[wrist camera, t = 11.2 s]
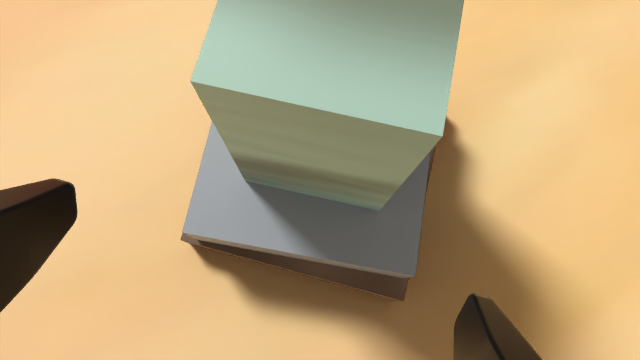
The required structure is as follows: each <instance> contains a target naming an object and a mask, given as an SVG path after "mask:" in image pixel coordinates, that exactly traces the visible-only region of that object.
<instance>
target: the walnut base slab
mask: <svg viewBox="0 0 640 360" xmlns="http://www.w3.org/2000/svg"><path fill="white" fill-rule="evenodd" d="M435 147H436V145H435V146H434V147H433V148H432V150H431V151H430V159H429V168H428V176H427V184H426V191H427V186H428V181H429V176H430V171H431V166H432V161H433V157H434V152H435ZM425 195H426V193H425ZM181 240H182V241H185V242H187V243H189V244H192V245H196V246H200V247H203V248H207V249H211V250H214V251H218V252H221V253H225V254H229V255H232V256H236V257H240V258H243V259H247V260H251V261H254V262H258V263H261V264H265V265H269V266H272V267H276V268H280V269H283V270H287V271H291V272H294V273H298V274H301V275H305V276H309V277H312V278H316V279H320V280H323V281H327V282H331V283H334V284H338V285H341V286H345V287H349V288H352V289H356V290H360V291H363V292H367V293H371V294H374V295H378V296H381V297H385V298H389V299H392V300H396V301H404V297H405V292H406V287H407V283H408V278H409V277H408V278H398V277H392V276H387V275H382V274H376V273H371V272H366V271H360V270H355V269H350V268H344V267H339V266H334V265H328V264H323V263H318V262H312V261H307V260H302V259H296V258H291V257H286V256H280V255H275V254H270V253H264V252H259V251H254V250H248V249H243V248H238V247H232V246H227V245H222V244H216V243H211V242H206V241H200V240H196V239H194V238H192V237H190V236H188V235H186V234H184V233H183V234H182V237H181Z"/></svg>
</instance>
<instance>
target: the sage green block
mask: <svg viewBox="0 0 640 360" xmlns="http://www.w3.org/2000/svg"><path fill="white" fill-rule="evenodd" d="M463 4H464V0H218V1H217V4H216V7H215V10H214V13H213V16H212V19H211V22H210V25H209V28H208V31H207V34H206V37H205V40H204V43H203V46H202V49H201V51H200V54H199V57H198V60H197V63H196V66H195V69H194V72H193V75H192V78H191V83H192V85H193V87H194V89H195V90H196V92H197V94H198V96H199V98H200V100H201V101H202V103H203V105H204V107H205V109H206V110H207V112H208V114H209V116H210V118H211V120H212V121H213V123H214V125H215V127H216V129H217V131H218V132H219V134H220V136H221V138H222V140H223V141H224V143H225V145H226V147H227V149H228V151H229V152H230V154H231V156H232V158H233V160H234V162H235V163H236V165H237V167H238V169H239V171H240V172H241V174H242V176H243V178H244V180H245V181H248V182H252V183H257V184H261V185H266V186H270V187H274V188H279V189H283V190H288V191H292V192H297V193H301V194H306V195H310V196H314V197H319V198H323V199H328V200H332V201H337V202H341V203H345V204H350V205H354V206H359V207H363V208H368V209H372V210H377V211H380V209H381V208H382V207H383V206H384V205H385V204H386V202H387V201H388V200H389V199H390V198H391V197H392V195H393V194H394V193H395V192H396V191H397V189H398V188H399V187H400V186H401V185H402V184H403V182H404V181H405V180H406V179H407V178H408V177H409V175H410V174H411V173H412V172H413V171H414V169H415V168H416V167H417V166H418V165H419V164H420V162H421V161H422V160H423V159H424V158H425V157H426V155H427V154H428V153H429V152H430V151H431V150H432V148H433V147H434V146H435V145H436V144H437V142H438V141H439V140H440V139H441V138H442V137H443V131H444V125H445V119H446V112H447V106H448V99H449V93H450V87H451V80H452V74H453V68H454V61H455V55H456V49H457V42H458V36H459V29H460V23H461V17H462V10H463Z"/></svg>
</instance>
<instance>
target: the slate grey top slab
mask: <svg viewBox="0 0 640 360" xmlns="http://www.w3.org/2000/svg"><path fill="white" fill-rule="evenodd" d="M429 159H430V152H429V153H428V154H427V155H426V157H425V158H424V159H423V160H422V161H421V162H420V164H419V165H418V166H417V167H416V168H415V169H414V171H413V172H412V173H411V174H410V175H409V177H408V178H407V179H406V180H405V181H404V182H403V184H402V185H401V186H400V187H399V188H398V189H397V191H396V192H395V193H394V194H393V195H392V197H391V198H390V199H389V200H388V201H387V202H386V204H385V205H384V206H383V207H382V208H381V209H380V211H377V210H372V209H368V208H363V207H359V206H354V205H350V204H345V203H341V202H337V201H332V200H328V199H323V198H319V197H314V196H310V195H306V194H301V193H297V192H292V191H288V190H283V189H279V188H274V187H270V186H266V185H261V184H257V183H252V182H248V181H245V180H244V178H243V176H242V174H241V172H240V171H239V169H238V167H237V165H236V163H235V162H234V160H233V158H232V156H231V154H230V152H229V151H228V149H227V147H226V145H225V143H224V141H223V140H222V138H221V136H220V134H219V132H218V131H217V129H216V127H215V125H214V123H213V121H212V123H211V127H210V131H209V135H208V138H207V142H206V146H205V149H204V153H203V157H202V161H201V164H200V168H199V172H198V175H197V179H196V183H195V187H194V190H193V194H192V198H191V201H190V205H189V209H188V213H187V216H186V220H185V224H184V227H183V231H182V233H184V234H186V235H188V236H190V237H192V238H194V239H196V240H200V241H206V242H211V243H216V244H222V245H227V246H232V247H238V248H243V249H248V250H254V251H259V252H264V253H270V254H275V255H280V256H286V257H291V258H296V259H302V260H307V261H312V262H318V263H323V264H328V265H334V266H339V267H344V268H350V269H355V270H360V271H366V272H371V273H376V274H382V275H387V276H392V277H398V278H408V277H414V276H416V267H417V259H418V251H419V243H420V234H421V226H422V218H423V209H424V201H425V193H426V184H427V176H428V168H429Z"/></svg>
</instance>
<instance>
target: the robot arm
mask: <svg viewBox="0 0 640 360" xmlns="http://www.w3.org/2000/svg"><path fill="white" fill-rule="evenodd" d="M76 218H77V203H76V193H75V187H74V185H73V184H72V183H70V182H67V181H63V180H60V179H48V180H43V181H39V182H35V183H30V184H26V185H21V186H17V187H13V188H8V189H4V190H0V312H1V311H2V310H3V309H4V308H5V307H6V306H7V305H8V304H9V303H10V302H11V301H12V300H13V298H14V297H15V296H16V295H17V294H18V293H19V292H20V291H21V290H22V289H23V288H24V287H25V286H26V284H27V283H28V282H29V281H30V280H31V279H32V278H33V276H34V275H35V274H36V273H37V272H38V270H39V269H40V268H41V266H42V265H43V264H44V263H45V261H46V260H47V259H48V257H49V256H50V255H51V253H52V252H53V251H54V249H55V248H56V247H57V245H58V244H59V243H60V241H61V240H62V239H63V237H64V236H65V235H66V233H67V232H68V231H69V230H70V228H71V227H72V226H73V224H74V223H75V221H76ZM453 360H542V359H541V357H540V356H539V355H538V354H537V353H536V351H535V350H534V349H533V348H532V347H531V345H530V344H529V343H528V342H527V341H526V339H525V338H524V337H523V336H522V335H521V333H520V332H519V331H518V330H517V329H516V327H515V326H514V325H513V324H512V323H511V322H510V320H509V319H508V318H507V317H506V316H505V314H504V313H503V312H502V311H501V310H500V308H499V307H498V306H497V305H496V304H495V302H494V301H493V300H492V299H491V298H489V297H485V296H482V295H478V294H470V295H469V297H468V298H467V300H466V302H465V304H464V305H463V307H462V309H461V311H460V313H459V315H458V317H457V319H456V322H455V326H454V354H453Z"/></svg>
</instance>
